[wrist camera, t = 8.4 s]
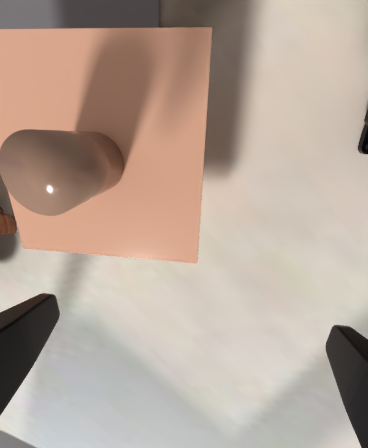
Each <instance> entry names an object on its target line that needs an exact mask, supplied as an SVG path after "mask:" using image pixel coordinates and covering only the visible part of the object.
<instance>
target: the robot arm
mask: <svg viewBox="0 0 368 448" xmlns="http://www.w3.org/2000/svg"><path fill="white" fill-rule="evenodd" d="M364 121H365V126H364V129H363V132H362V136H361V139H360V142H359V145H358V151H359V152H360V153H362V154H368V149H367V150H366V149H365V147H366V145H367V144H368V110H367V113H366V116H365V120H364ZM59 315H60V312H59V308H58V303H57V299H56V296H55V295H53V294H46V293H42V294H39V295H37V296H35V297H33V298H31V299H28V300H26V301H24V302H22V303H20V304H18V305H16V306H13V307H11V308H9V309H7V310H5V311H3V312H1V313H0V415H1V414H2V412H3V411H4V409H5V408H6V406H7V405H8V403H9V402H10V400H11V399H12V397H13V396H14V394H15V393H16V391H17V390H18V388H19V387H20V385H21V384H22V382H23V380H24V379H25V377H26V376H27V374H28V373H29V371H30V370H31V368H32V367H33V365H34V363H35V361H36V360H37V358H38V356H39V354H40V353H41V351H42V349H43V347H44V345H45V343H46V342H47V340H48V338H49V336H50V334H51V332H52V331H53V329H54V327H55V325H56V323H57V321H58V319H59ZM326 353H327V356H328V359H329V362H330V365H331V368H332V371H333V374H334V377H335V380H336V383H337V386H338V389H339V392H340V395H341V398H342V401H343V404H344V406H345V409H346V412H347V414H348V417H349V419H350V421H351V424H352V426H353V428H354V431H355V433H356V435H357V438H358V440H359V442H360V445H361V447H362V448H368V339H366V338H365V337H364V336H362V335H361V334H360V333H358V332H357V331H355V330H354V329H353V328H351V327H349V326H342V325H334V326H333V327H332V329H331V332H330V334H329V337H328V340H327V342H326Z"/></svg>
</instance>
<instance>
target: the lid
mask: <svg viewBox="0 0 368 448" xmlns="http://www.w3.org/2000/svg"><path fill="white" fill-rule="evenodd" d="M211 44H212V27H175V28H72V29H0V174H1V177H2V180H3V182H4V184H5V186H6V188H7V190H8V193H9V197H10V201H11V205H12V208H13V212H14V216H15V219H16V223H17V227H18V230H19V234H20V238H21V242H22V245H23V248H26V249H38V250H49V251H61V252H72V253H84V254H95V255H106V256H118V257H129V258H141V259H152V260H164V261H175V262H186V263H197V260H198V247H199V231H200V216H201V200H202V184H203V169H204V153H205V138H206V122H207V106H208V91H209V75H210V59H211Z"/></svg>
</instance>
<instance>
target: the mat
mask: <svg viewBox="0 0 368 448" xmlns="http://www.w3.org/2000/svg"><path fill="white" fill-rule="evenodd" d="M72 28H160V0H0V29H72Z"/></svg>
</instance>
